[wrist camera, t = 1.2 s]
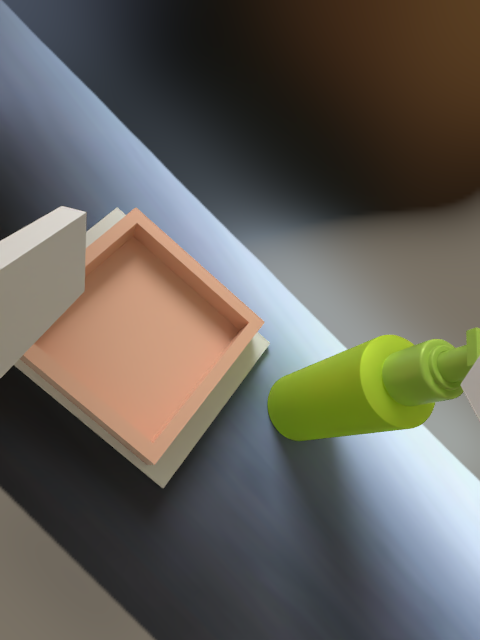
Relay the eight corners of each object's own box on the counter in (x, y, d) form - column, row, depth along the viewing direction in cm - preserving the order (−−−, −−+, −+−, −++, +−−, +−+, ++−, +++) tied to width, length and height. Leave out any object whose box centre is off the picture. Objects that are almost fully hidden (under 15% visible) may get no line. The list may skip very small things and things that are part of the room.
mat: (-31, 328, 30) (-33, 326, 29) (116, 211, 37) (117, 207, 36) (161, 487, 31) (163, 488, 30) (267, 344, 38) (270, 343, 38)
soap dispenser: (331, 450, 37) (568, 435, 20) (261, 431, 35) (454, 395, 18) (338, 387, 40) (554, 323, 22) (273, 366, 38) (454, 278, 20)
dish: (-4, 339, 29) (-11, 327, 27) (130, 226, 36) (135, 207, 34) (147, 465, 31) (154, 464, 28) (250, 332, 37) (264, 322, 35)
